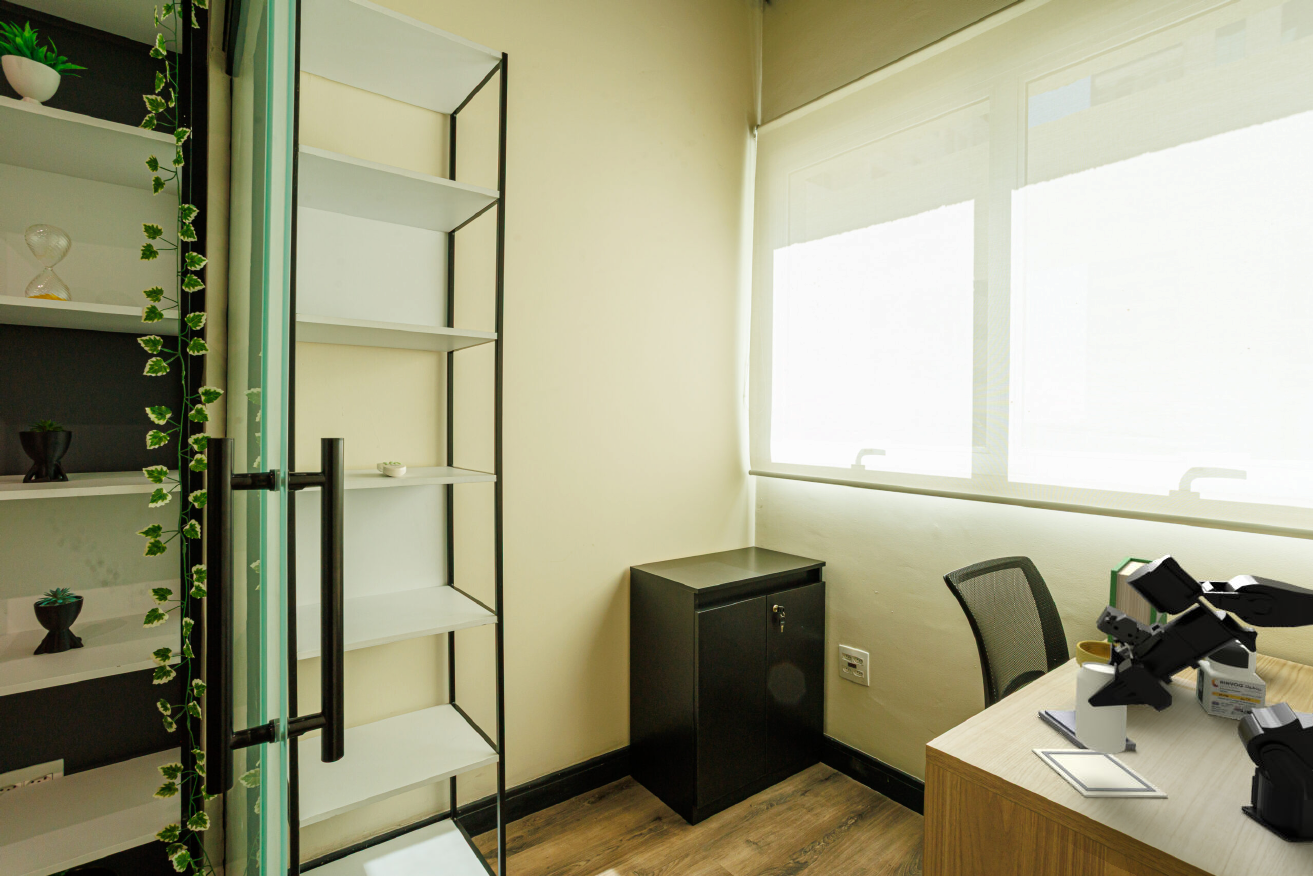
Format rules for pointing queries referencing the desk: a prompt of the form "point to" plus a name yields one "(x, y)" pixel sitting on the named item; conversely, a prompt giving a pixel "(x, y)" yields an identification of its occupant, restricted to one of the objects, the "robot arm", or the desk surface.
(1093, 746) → the beverage can
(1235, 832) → the desk surface
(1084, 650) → the plant pot
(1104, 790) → the print card
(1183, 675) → the desk surface
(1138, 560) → the hardback book
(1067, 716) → the ink pad
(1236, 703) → the container
